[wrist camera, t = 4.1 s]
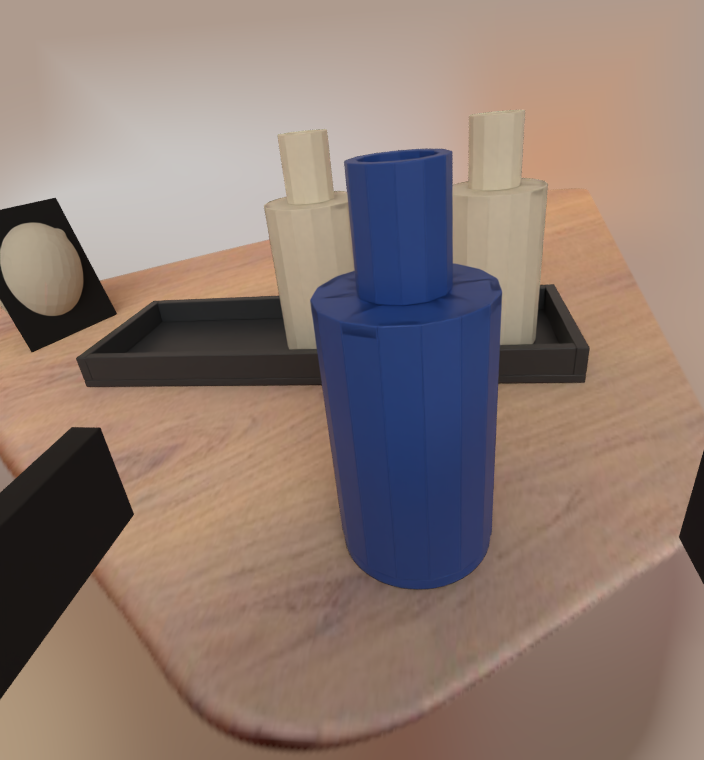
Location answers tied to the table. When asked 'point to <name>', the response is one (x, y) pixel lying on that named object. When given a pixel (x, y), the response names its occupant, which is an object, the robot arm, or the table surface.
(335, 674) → the table surface
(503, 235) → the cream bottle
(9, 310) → the decorative object
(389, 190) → the blue bottle
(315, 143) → the cream bottle mid
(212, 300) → the tray
